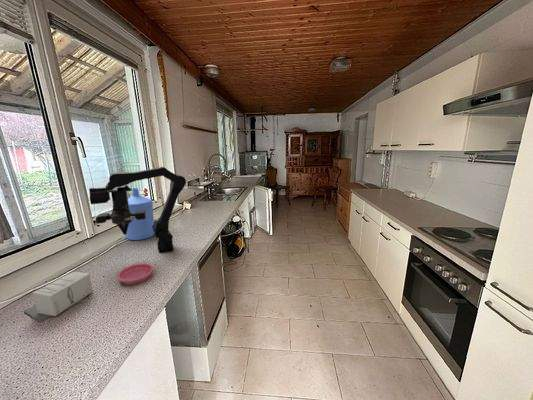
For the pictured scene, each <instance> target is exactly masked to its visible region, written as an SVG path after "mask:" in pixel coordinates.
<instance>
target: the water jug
mask: <svg viewBox="0 0 533 400" xmlns="http://www.w3.org/2000/svg"><path fill="white" fill-rule="evenodd" d="M131 191H132V196H131V197H128V202H129V210H130V212H131V214H132V213H136V212H137V211H143V210H145V211H146V212H147V217H146V219H141V220H137V219H136V218H135V217H134V219H133V220H132V222H130V223H129V226H128V230H127V234H126V235H125V239H127V240H129V241H140V240H141V241H142V240H146V239H148V238H149V239H150V238H152V237H153V236H155V234H154V232H153V228H152V226H153V225H154V221H155V218H154V206H153V205H154V203H153V200H152V199H151V198H148V197H145V196H142V195H140V192H139V191H140V190H139V188H131Z"/></svg>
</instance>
